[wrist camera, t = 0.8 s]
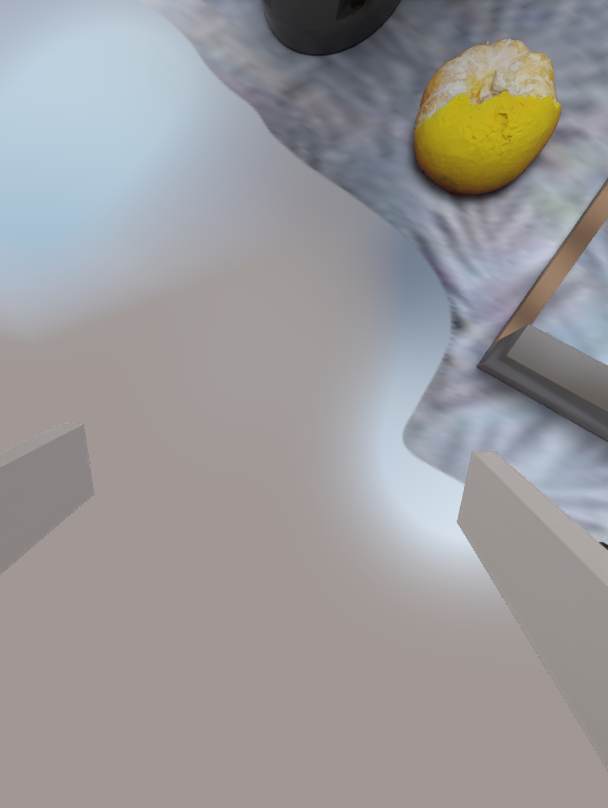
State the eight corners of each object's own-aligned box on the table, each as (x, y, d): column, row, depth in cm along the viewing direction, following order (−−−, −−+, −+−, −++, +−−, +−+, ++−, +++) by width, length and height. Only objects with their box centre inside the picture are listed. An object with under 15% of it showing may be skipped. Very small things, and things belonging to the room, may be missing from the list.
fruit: (577, 99, 29) (620, 33, 22) (492, 224, 33) (504, 203, 26) (460, 48, 31) (464, -28, 24) (394, 173, 35) (381, 140, 28)
